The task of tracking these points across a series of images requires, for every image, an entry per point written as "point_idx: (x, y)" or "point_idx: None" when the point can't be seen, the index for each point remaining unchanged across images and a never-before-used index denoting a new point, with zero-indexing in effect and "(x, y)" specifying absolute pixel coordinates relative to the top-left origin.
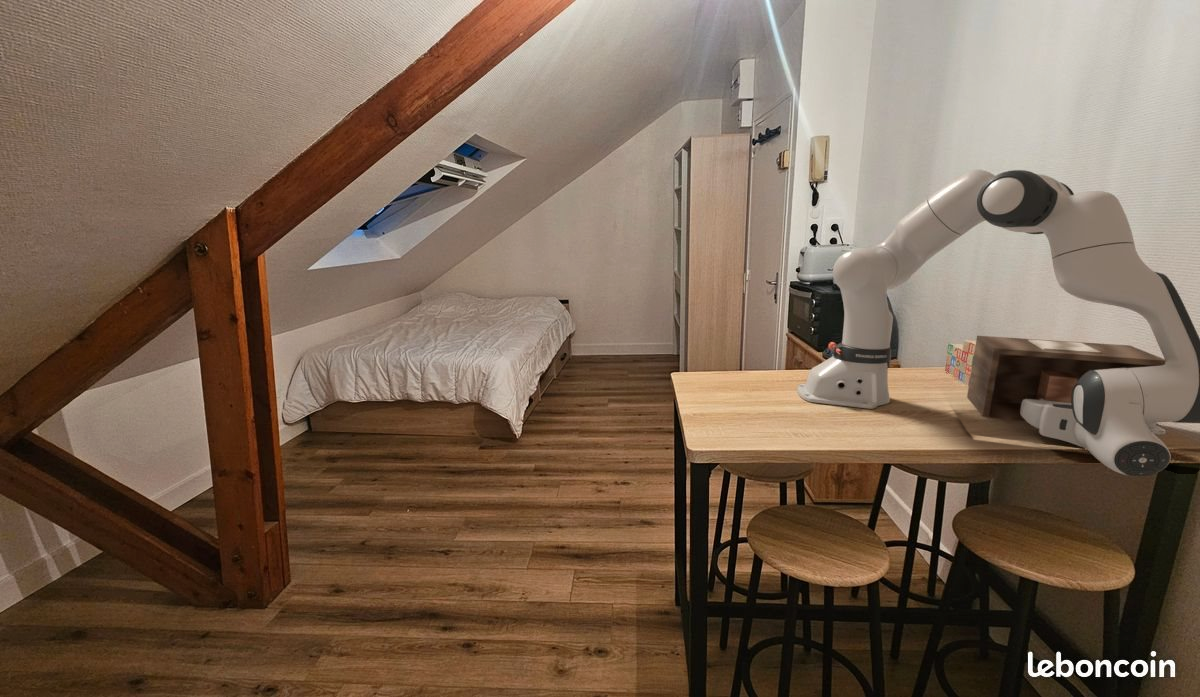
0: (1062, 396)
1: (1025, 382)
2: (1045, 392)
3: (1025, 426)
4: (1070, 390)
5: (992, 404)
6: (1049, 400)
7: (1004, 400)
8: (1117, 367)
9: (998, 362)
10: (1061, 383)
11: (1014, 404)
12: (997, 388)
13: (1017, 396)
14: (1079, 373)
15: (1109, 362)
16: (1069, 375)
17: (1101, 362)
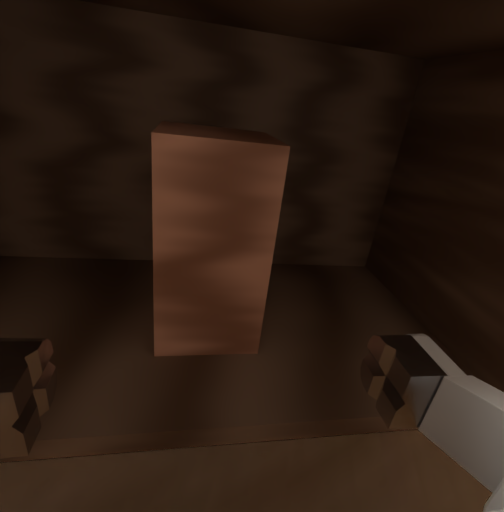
0: (226, 252)
1: (150, 185)
2: (154, 235)
3: (14, 480)
4: (258, 218)
5: (32, 280)
6: (18, 375)
7: (99, 253)
8: (399, 123)
9: (38, 99)
10: (215, 180)
11: (124, 267)
12: (66, 212)
13: (136, 236)
14: (302, 146)
15: (382, 104)
16: (259, 137)
17: (361, 104)
